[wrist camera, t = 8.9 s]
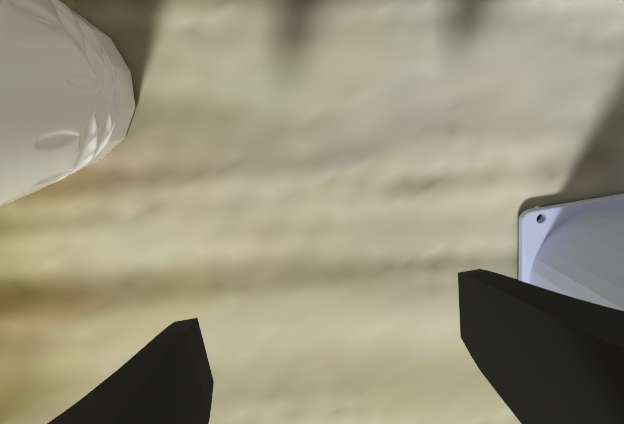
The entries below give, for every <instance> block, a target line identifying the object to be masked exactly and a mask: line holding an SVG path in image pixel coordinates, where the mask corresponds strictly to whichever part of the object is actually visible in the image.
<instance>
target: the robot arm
mask: <svg viewBox="0 0 624 424" xmlns="http://www.w3.org/2000/svg"><path fill="white" fill-rule="evenodd" d="M540 214H541V218H540V219H539V220H538V221H537V220H536V219H537V217H538V215H540ZM458 284H459V308H460V331H461V338H462V340H463V342H464V344H465V346H466V347H467V349H468V351H469V353H470V355H471V356H472V358H473V359H474V361H475V363H476V364H477V366H478V368H479V369H480V371H481V372H482V373H483V375H484V376H485V377H486V378H487V380H488V381H489V382H490V384H491V385H492V386H493V388H494V389H495V390H496V391H497V393H498V394H499V395H500V397H501V398H502V399H503V400H504V402H505V403H506V404H507V406H508V407H509V408H510V409H511V411H512V412H513V413H514V414H515V416H516V417H517V418H518V420H519V421H520V422H521V423H522V424H624V193H623V194H617V195H611V196H605V197H599V198H593V199H587V200H581V201H575V202H569V203H563V204H557V205H551V206H545V207H539V208H533V209H527V210H525V211H523V212H522V213H521V215H520V216H519V267H518V280H517V279H514V278H511V277H507V276H504V275H501V274H498V273H494V272H490V271H486V270H481V269H477V270H472V271H466V272H460V273H458ZM213 383H214V382H213V378H212V374H211V370H210V366H209V362H208V358H207V354H206V350H205V346H204V342H203V338H202V335H201V331H200V327H199V323H198V319H197V318H194V319H189V320H183V321H177V322H174V323H172V324H171V325H169V326H168V327H167V328H166V329H164V330H163V331H162V332H161V333H160V334H159V335H157V336H156V337H155V338H154V339H153V340H152V341H150V342H149V343H148V344H147V345H146V346H145V347H144V348H143V349H141V350H140V351H139V352H138V353H137V354H136V355H134V356H133V357H132V358H131V359H130V360H129V361H128V362H126V363H125V364H124V365H123V366H122V367H121V368H119V369H118V370H117V371H116V372H115V373H113V374H112V375H111V376H110V377H108V378H107V379H106V380H105V381H103V382H102V383H101V384H100V385H98V386H97V387H96V388H95V389H94V390H92V391H91V392H90V393H89V394H87V395H86V396H85V397H84V398H82V399H81V400H80V401H78V402H77V403H76V404H74V405H73V406H72V407H70V408H69V409H67V410H66V411H65V412H63V413H62V414H60V415H59V416H58V417H56V418H55V419H53V420H52V421H50V422H49V423H47V424H208V423H209V418H210V410H211V402H212V393H213Z"/></svg>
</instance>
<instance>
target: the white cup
mask: <svg viewBox="0 0 624 424" xmlns="http://www.w3.org/2000/svg"><path fill="white" fill-rule="evenodd" d="M134 111H135V99H134V92H133V84H132V76H131V71H130V70H129V68H128V66H127V65H126V63H125V61H124V60H123V58H122V56H121V55H120V53H119V51H118V50H117V48H116V46H115V45H114V43H113V41H112V40H111V38H110V37H108V36H107V35H106V34H104V33H103V32H102V31H100V30H99V29H98V28H96V27H95V26H94V25H92V24H91V23H90V22H88V21H87V20H86V19H84V18H83V17H82V16H80V15H79V14H78V13H76V12H74V11H73V10H71V9H69V8H68V7H67V6H66V5H65V4H63V3H62V2H60V1H59V0H0V207H1V206H3V205H5V204H8V203H10V202H13V201H15V200H17V199H20V198H22V197H24V196H27V195H29V194H31V193H33V192H35V191H38V190H40V189H42V188H44V187H46V186H47V185H49V184H52V183H54V182H56V181H59V180H61V179H63V178H65V177H67V176H69V175H71V174H72V173H74V172H76V171H77V170H79V169H81V168H82V167H85V166H87V165H90V164H93V163H95V162H98V161H100V160H102V159H103V158H104V157H105V156H106V155H107V154H108V153H109V152H111V151H112V150H113V149H114V148H115V147H116V146H117V145H118V144H119V143H120V142H122V141H123V140H124V139H125V137H126V134H127V131H128V128H129V125H130V122H131V119H132V116H133V113H134Z"/></svg>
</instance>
